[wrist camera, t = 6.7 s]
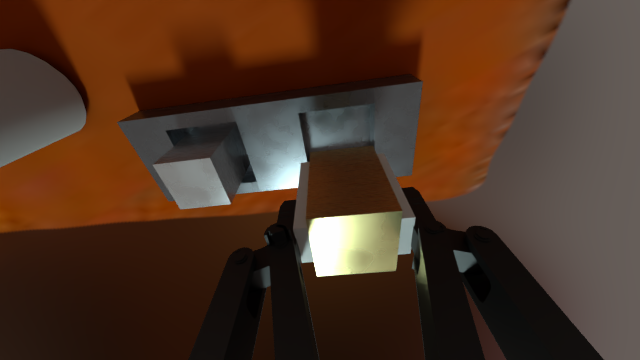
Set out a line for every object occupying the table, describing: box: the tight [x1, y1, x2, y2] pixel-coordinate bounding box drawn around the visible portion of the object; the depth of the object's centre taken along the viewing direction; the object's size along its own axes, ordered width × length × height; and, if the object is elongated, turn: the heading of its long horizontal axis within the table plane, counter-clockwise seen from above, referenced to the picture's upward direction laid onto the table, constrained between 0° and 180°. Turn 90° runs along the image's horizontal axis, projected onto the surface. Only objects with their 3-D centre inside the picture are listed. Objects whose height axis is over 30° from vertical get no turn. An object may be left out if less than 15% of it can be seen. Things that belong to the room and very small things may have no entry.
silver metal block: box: [153, 123, 250, 209], centre depth 21 cm, size 4×4×7 cm
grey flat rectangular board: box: [117, 74, 423, 201], centre depth 23 cm, size 26×9×3 cm, turn 97°
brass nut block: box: [306, 146, 402, 276], centre depth 15 cm, size 4×4×7 cm
